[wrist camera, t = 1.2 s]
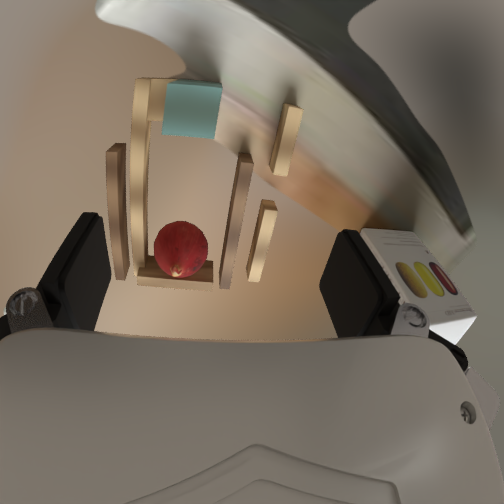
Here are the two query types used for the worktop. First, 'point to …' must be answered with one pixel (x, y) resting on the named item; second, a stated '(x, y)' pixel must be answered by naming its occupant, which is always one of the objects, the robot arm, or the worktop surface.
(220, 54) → the worktop surface
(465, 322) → the supplement box
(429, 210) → the worktop surface
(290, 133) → the broken strip
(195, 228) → the onion
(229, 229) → the lane rails
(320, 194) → the worktop surface
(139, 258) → the tan frame
